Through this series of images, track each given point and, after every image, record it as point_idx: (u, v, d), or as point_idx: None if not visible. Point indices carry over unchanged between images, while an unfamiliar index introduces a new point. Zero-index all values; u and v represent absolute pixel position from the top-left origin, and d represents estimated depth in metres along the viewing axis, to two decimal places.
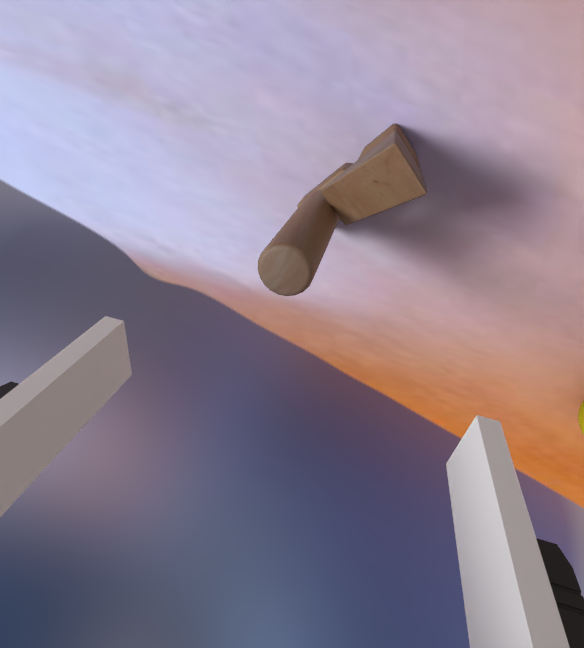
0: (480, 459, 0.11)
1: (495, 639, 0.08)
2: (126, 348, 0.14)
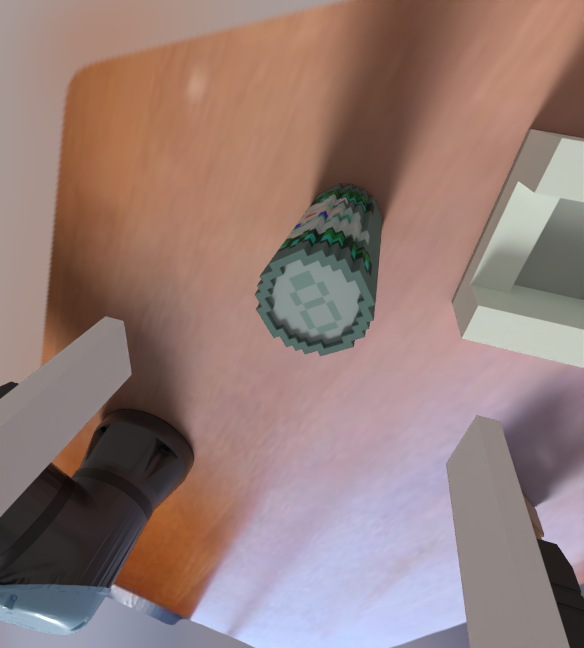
0: (480, 459, 0.11)
1: (495, 639, 0.08)
2: (126, 348, 0.14)
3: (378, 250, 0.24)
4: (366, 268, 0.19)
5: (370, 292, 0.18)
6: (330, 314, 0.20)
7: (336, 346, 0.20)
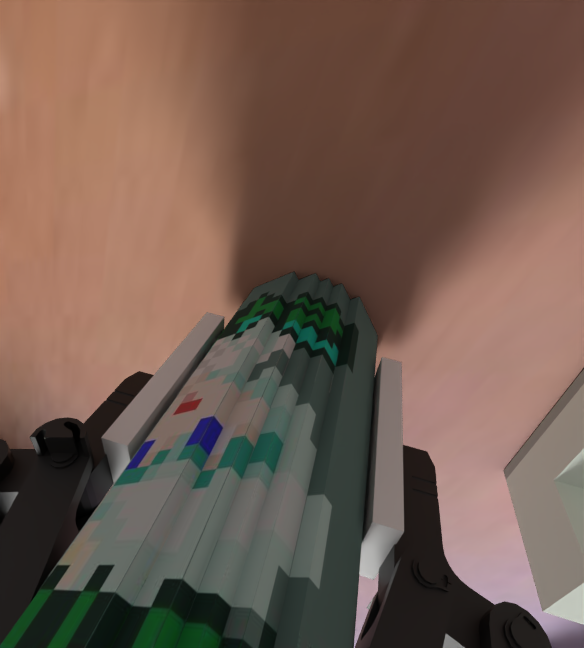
0: (377, 390, 0.13)
1: None
2: None
3: (360, 505, 0.09)
4: None
5: None
6: None
7: None
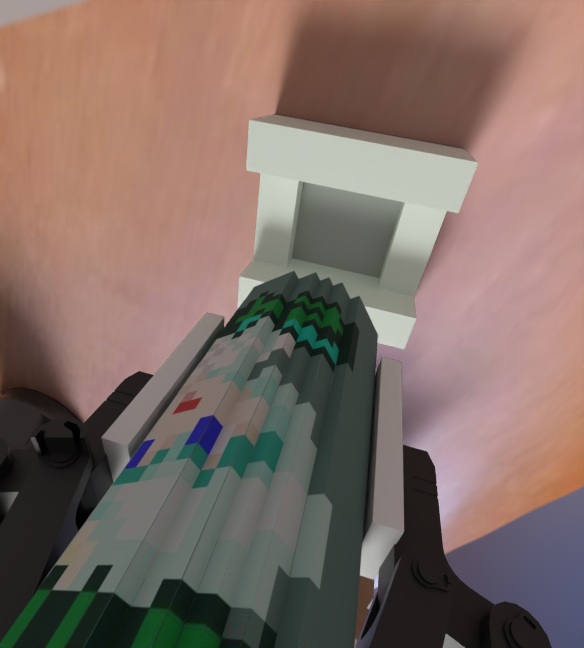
0: (377, 390, 0.13)
1: None
2: None
3: (361, 504, 0.09)
4: None
5: None
6: None
7: None
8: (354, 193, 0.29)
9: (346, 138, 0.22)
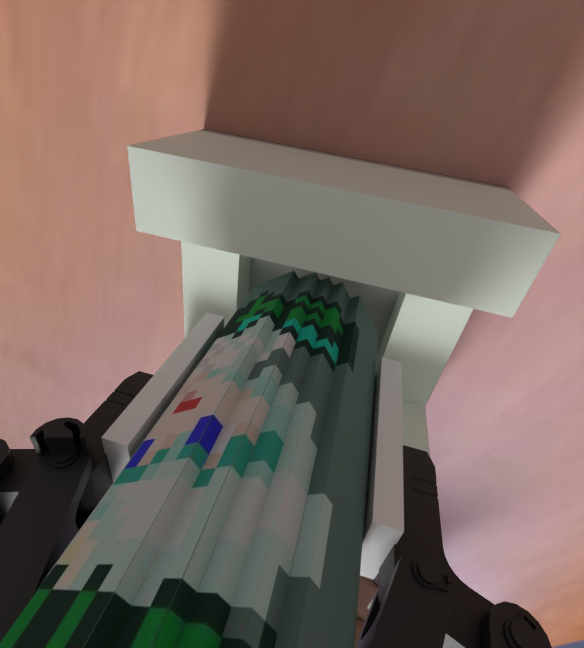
0: (377, 390, 0.13)
1: None
2: None
3: (361, 504, 0.09)
4: None
5: None
6: None
7: None
8: None
9: (304, 182, 0.12)
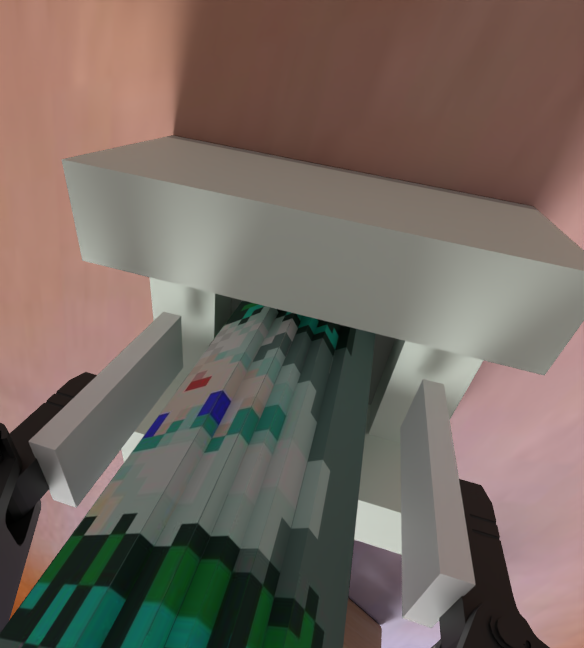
0: (421, 416, 0.12)
1: (417, 561, 0.09)
2: (181, 342, 0.15)
3: (357, 474, 0.10)
4: None
5: None
6: None
7: None
8: None
9: (281, 207, 0.09)
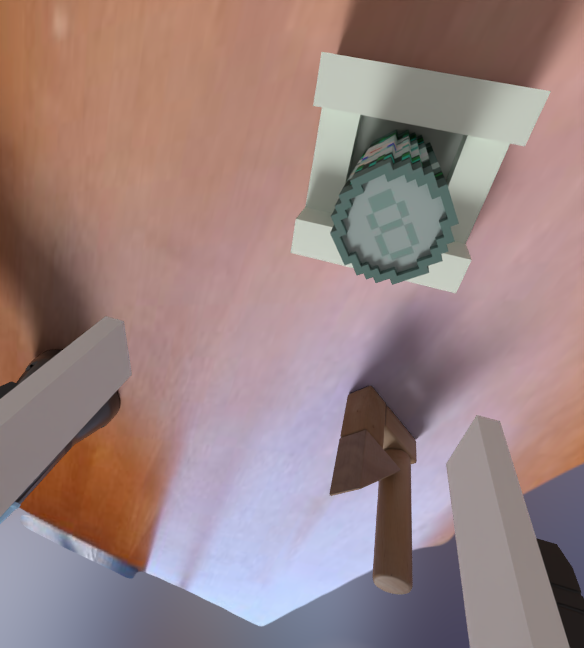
0: (480, 459, 0.11)
1: (495, 639, 0.08)
2: (126, 348, 0.14)
3: None
4: None
5: (454, 210, 0.18)
6: (406, 238, 0.19)
7: (410, 273, 0.20)
8: None
9: (418, 69, 0.23)
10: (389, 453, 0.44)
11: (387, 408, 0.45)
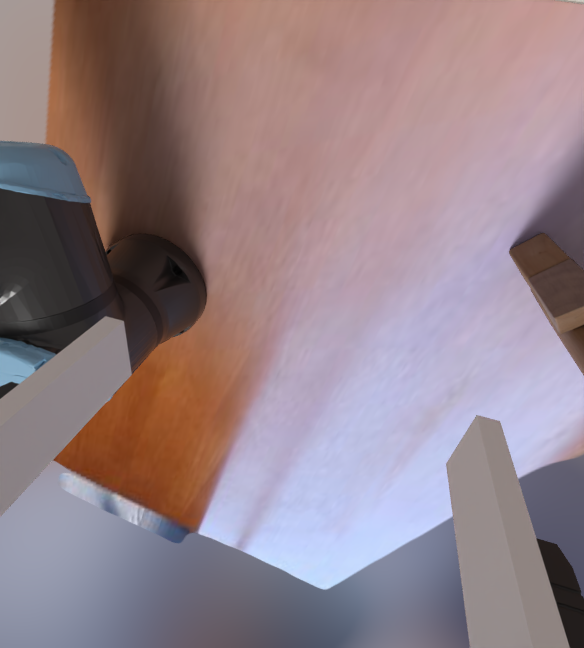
0: (480, 459, 0.11)
1: (495, 639, 0.08)
2: (126, 348, 0.14)
3: None
4: None
5: None
6: None
7: None
8: None
9: None
10: None
11: None
